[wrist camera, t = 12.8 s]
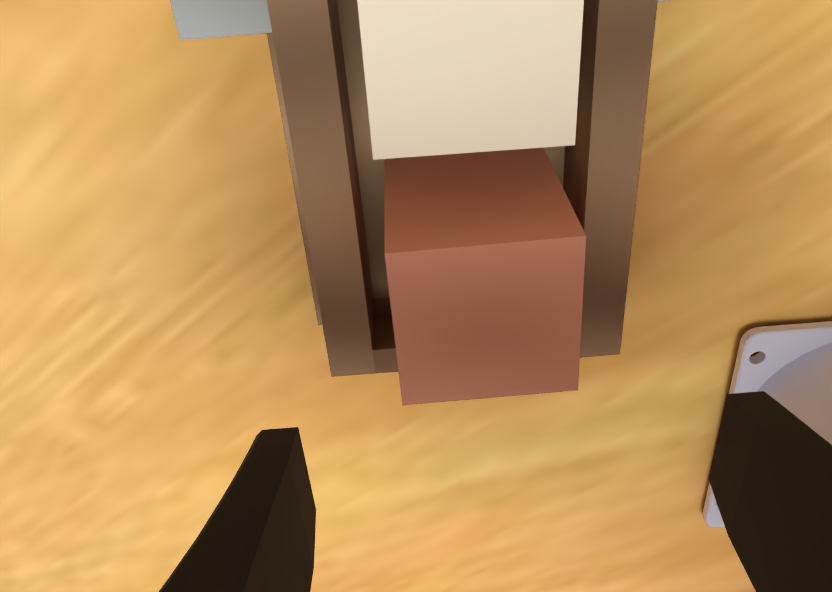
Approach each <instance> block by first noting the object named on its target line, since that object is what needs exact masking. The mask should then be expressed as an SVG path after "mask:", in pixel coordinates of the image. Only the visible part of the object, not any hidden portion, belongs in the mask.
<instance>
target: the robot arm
mask: <svg viewBox="0 0 832 592" xmlns="http://www.w3.org/2000/svg"><path fill="white" fill-rule="evenodd" d="M758 351H759V353H758V354H756V355H755V356H752V357H750V356H751V355H752V354H753V353H755V352H758ZM703 518H704V521H705V523H706V524H707V525H708V526H710V527H716V528H718V527H725V528H726V530H727V533H728V536H729V538H730V540H731V542H732V544H733V546H734V548H735V550H736V552H737V554H738V556H739V558H740V560H741V562H742V564H743V566H744V568H745V570H746V573H747V575H748V577H749V579H750V581H751V583H752V585H753V586H754V588H755V590H756V592H832V321H827V322H814V323H801V324H789V325H776V326H763V327H756V328H752V329H750V330H748V331H747V332H746V333H745V334H744V335H743V336H742V338H741V340H740V345H739V349H738V354H737V358H736V363H735V368H734V372H733V377H732V381H731V386H730V390H729V394H727V398H726V402H725V407H724V412H723V416H722V421H721V425H720V430H719V435H718V439H717V444H716V448H715V453H714V458H713V462H712V467H711V471H710V476H709V487H708V491H707V496H706V500H705V505H704V509H703ZM315 521H316V508H315V503H314V499H313V494H312V489H311V485H310V480H309V476H308V471H307V466H306V462H305V457H304V452H303V448H302V443H301V438H300V434H299V429H298V427H294V428H281V429H269V430H262V431H261V432H260V433H259V434H258V435H257V436H256V438H255V440H254V442H253V444H252V446H251V448H250V449H249V451H248V453H247V455H246V457H245V459H244V461H243V462H242V464H241V466H240V468H239V470H238V471H237V473H236V475H235V477H234V478H233V480H232V482H231V484H230V485H229V487H228V489H227V490H226V492H225V494H224V496H223V497H222V499H221V500H220V502H219V504H218V505H217V507H216V508H215V510H214V512H213V513H212V515H211V516H210V518H209V520H208V521H207V523H206V524H205V526H204V528H203V529H202V531H201V532H200V534H199V535H198V537H197V538H196V540H195V541H194V543H193V544H192V546H191V547H190V549H189V550H188V551H187V553H186V554H185V556H184V557H183V559H182V560H181V561H180V563H179V564H178V566H177V567H176V568H175V570H174V571H173V573H172V574H171V576H170V577H169V578H168V580H167V581H166V583H165V584H164V585H163V587H162V588H161V589H160V591H159V592H310V589H311V582H312V575H313V568H314V548H315Z"/></svg>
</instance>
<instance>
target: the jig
mask: <svg viewBox="0 0 832 592" xmlns="http://www.w3.org/2000/svg"><path fill="white" fill-rule="evenodd" d="M170 1H171V5H172V9H173V14H174V18H175V22H176V26H177V30H178V34H179V38H180V40H187V39H200V38H212V37H224V36H237V35H249V34H261V33H267V36H268V42H269V48H270V53H271V59H272V65H273V70H274V76H275V82H276V87H277V93H278V99H279V104H280V110H281V116H282V121H283V127H284V133H285V138H286V144H287V150H288V155H289V161H290V167H291V172H292V178H293V184H294V189H295V195H296V201H297V206H298V212H299V218H300V223H301V229H302V235H303V240H304V246H305V252H306V257H307V263H308V269H309V274H310V280H311V286H312V292H313V297H314V303H315V309H316V314H317V320H318V325H323V330H324V335H325V341H326V347H327V353H328V359H329V364H330V370H331V376H332V377H334V376H347V375H360V374H373V373H385V372H398V371H399V370H398V362H397V354H396V345H395V337H394V329H393V320H392V312H391V304H390V295H389V287H388V279H387V270H386V262H385V243H384V159H377V160H373V154H372V144H371V134H370V124H369V114H368V104H367V94H366V84H365V74H364V64H363V54H362V44H361V34H360V24H359V14H358V4H357V0H170ZM657 1H666V0H584V7H583V23H582V39H581V56H580V72H579V88H578V105H577V121H576V137H575V145H570V146H556V147H543V148H544V150H545V152H546V154H547V156H548V158H549V160H550V162H551V164H552V167H553V169H554V171H555V173H556V175H557V177H558V179H559V181H560V183H561V185H562V187H563V189H564V191H565V193H566V195H567V197H568V199H569V202H570V204H571V206H572V208H573V210H574V212H575V214H576V216H577V218H578V220H579V222H580V224H581V226H582V228H583V230H584V232H585V234H586V249H585V267H584V286H583V304H582V322H581V340H580V357H591V356H604V355H616V354H620V348H621V339H622V329H623V320H624V311H625V301H626V292H627V282H628V273H629V264H630V254H631V245H632V235H633V226H634V217H635V207H636V198H637V188H638V179H639V170H640V160H641V151H642V141H643V132H644V123H645V113H646V104H647V94H648V85H649V76H650V66H651V57H652V47H653V38H654V29H655V19H656V10H657Z"/></svg>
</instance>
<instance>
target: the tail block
mask: <svg viewBox="0 0 832 592" xmlns="http://www.w3.org/2000/svg"><path fill="white" fill-rule="evenodd" d="M384 243H385V262H386V270H387V279H388V287H389V295H390V304H391V312H392V320H393V329H394V337H395V345H396V354H397V362H398V370H399V379H400V387H401V395H402V404H403V405H411V404H422V403H434V402H446V401H457V400H469V399H481V398H492V397H504V396H516V395H528V394H539V393H551V392H563V391H574V390H578V377H579V358H580V340H581V322H582V304H583V286H584V267H585V249H586V234H585V232H584V230H583V228H582V226H581V224H580V222H579V220H578V218H577V216H576V214H575V212H574V210H573V208H572V206H571V204H570V202H569V199H568V197H567V195H566V193H565V191H564V189H563V187H562V185H561V183H560V181H559V179H558V177H557V175H556V173H555V171H554V169H553V167H552V164H551V162H550V160H549V158H548V156H547V154H546V152H545V150H544V148H543V147H542V148H529V149H515V150H501V151H487V152H473V153H460V154H446V155H432V156H418V157H404V158H391V159H384Z"/></svg>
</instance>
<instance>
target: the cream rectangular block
mask: <svg viewBox="0 0 832 592" xmlns="http://www.w3.org/2000/svg"><path fill="white" fill-rule="evenodd" d="M357 4H358V14H359V24H360V34H361V44H362V54H363V64H364V74H365V84H366V94H367V104H368V114H369V124H370V134H371V144H372V154H373V160H377V159H391V158H404V157H418V156H432V155H446V154H460V153H473V152H487V151H501V150H515V149H529V148H542V147H556V146H570V145H575V137H576V121H577V105H578V88H579V72H580V56H581V39H582V23H583V7H584V0H357Z"/></svg>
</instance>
